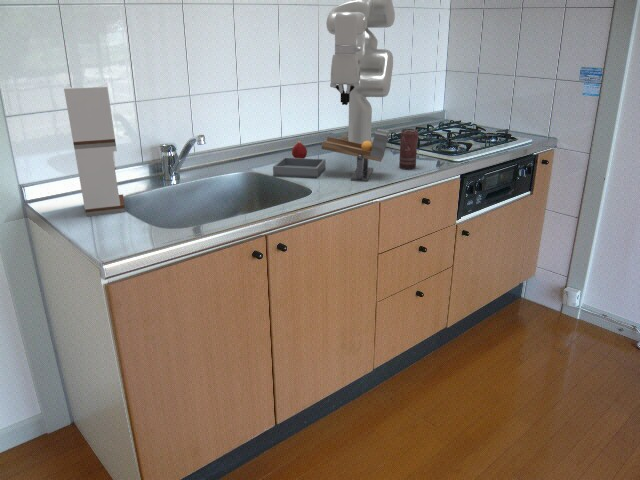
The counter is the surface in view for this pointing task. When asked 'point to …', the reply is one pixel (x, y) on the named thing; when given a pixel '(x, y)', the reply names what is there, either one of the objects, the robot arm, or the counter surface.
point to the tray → (299, 167)
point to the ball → (366, 146)
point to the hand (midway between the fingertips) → (345, 104)
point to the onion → (299, 151)
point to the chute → (358, 146)
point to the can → (408, 149)
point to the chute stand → (362, 170)
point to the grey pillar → (94, 148)
